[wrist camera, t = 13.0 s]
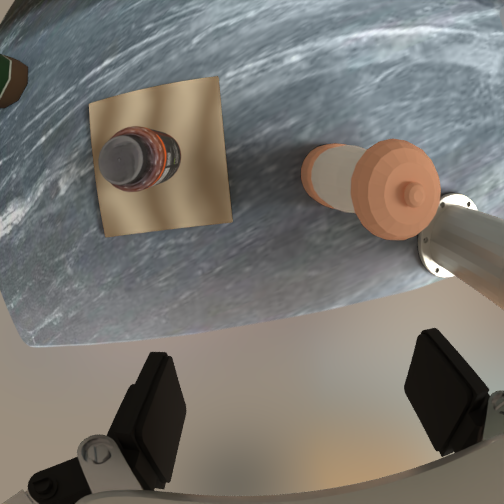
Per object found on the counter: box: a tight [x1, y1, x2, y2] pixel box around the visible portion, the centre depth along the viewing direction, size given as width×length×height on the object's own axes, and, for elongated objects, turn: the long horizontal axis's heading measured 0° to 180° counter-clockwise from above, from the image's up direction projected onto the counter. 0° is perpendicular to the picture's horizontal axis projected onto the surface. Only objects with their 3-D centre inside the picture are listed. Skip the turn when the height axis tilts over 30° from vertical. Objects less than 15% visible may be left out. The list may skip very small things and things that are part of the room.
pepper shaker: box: [301, 139, 441, 240], centre depth 25 cm, size 7×7×19 cm
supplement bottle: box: [98, 126, 181, 192], centre depth 26 cm, size 6×6×11 cm
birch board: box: [89, 76, 233, 237], centre depth 32 cm, size 16×17×1 cm
